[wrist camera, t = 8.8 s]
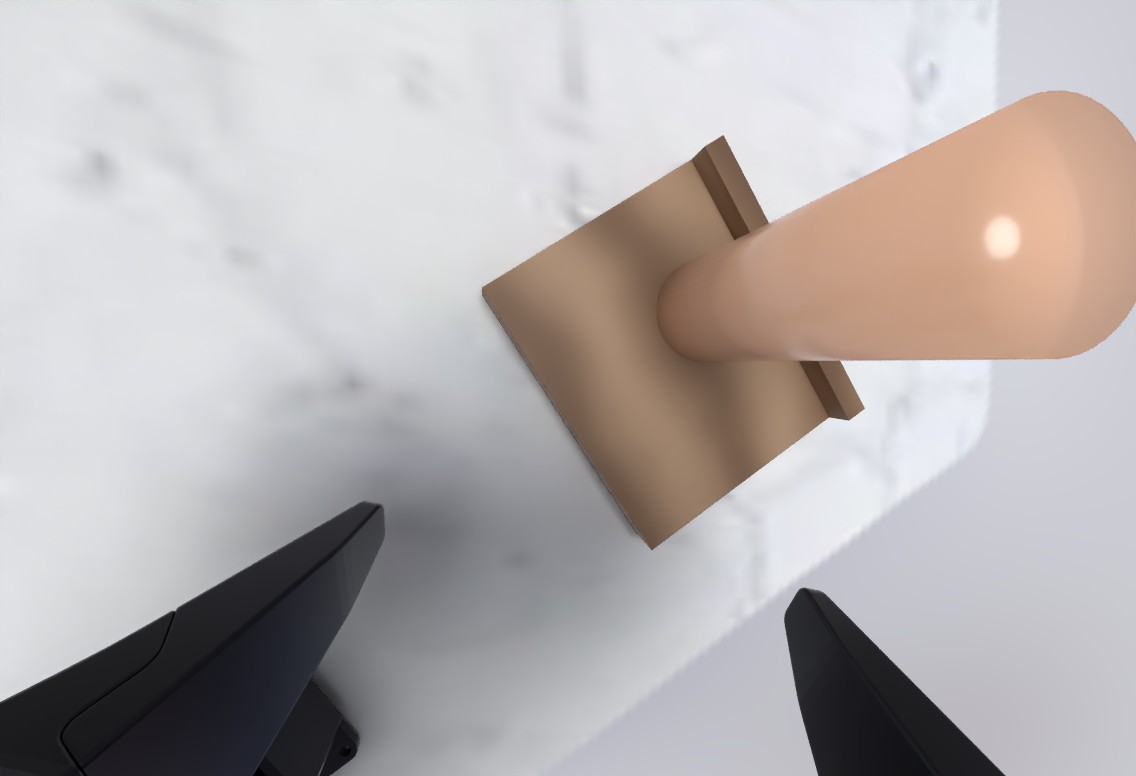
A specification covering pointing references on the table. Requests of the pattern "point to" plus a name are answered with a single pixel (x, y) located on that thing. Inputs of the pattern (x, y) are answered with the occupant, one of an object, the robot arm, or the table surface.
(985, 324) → the tan round cylinder
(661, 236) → the shelf board
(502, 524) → the table surface
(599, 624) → the table surface
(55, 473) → the table surface
